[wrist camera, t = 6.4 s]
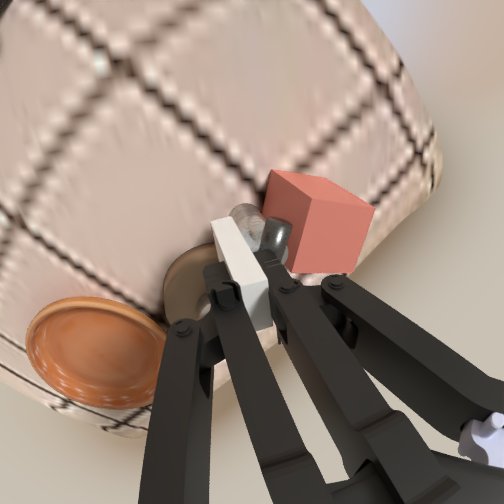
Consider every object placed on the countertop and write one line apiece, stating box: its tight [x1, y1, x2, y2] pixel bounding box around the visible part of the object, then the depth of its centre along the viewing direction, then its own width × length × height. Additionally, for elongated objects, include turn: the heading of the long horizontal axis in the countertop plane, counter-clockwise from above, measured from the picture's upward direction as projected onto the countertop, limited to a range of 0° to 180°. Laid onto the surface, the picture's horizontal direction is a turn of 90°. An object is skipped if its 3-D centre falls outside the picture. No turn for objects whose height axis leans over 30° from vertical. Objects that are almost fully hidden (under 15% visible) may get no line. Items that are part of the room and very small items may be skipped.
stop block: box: [262, 169, 375, 273], centre depth 21 cm, size 5×5×7 cm
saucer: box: [26, 297, 167, 410], centre depth 25 cm, size 16×16×3 cm
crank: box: [196, 203, 293, 320], centre depth 20 cm, size 12×4×6 cm, turn 165°
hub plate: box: [163, 243, 219, 325], centre depth 25 cm, size 9×9×3 cm
